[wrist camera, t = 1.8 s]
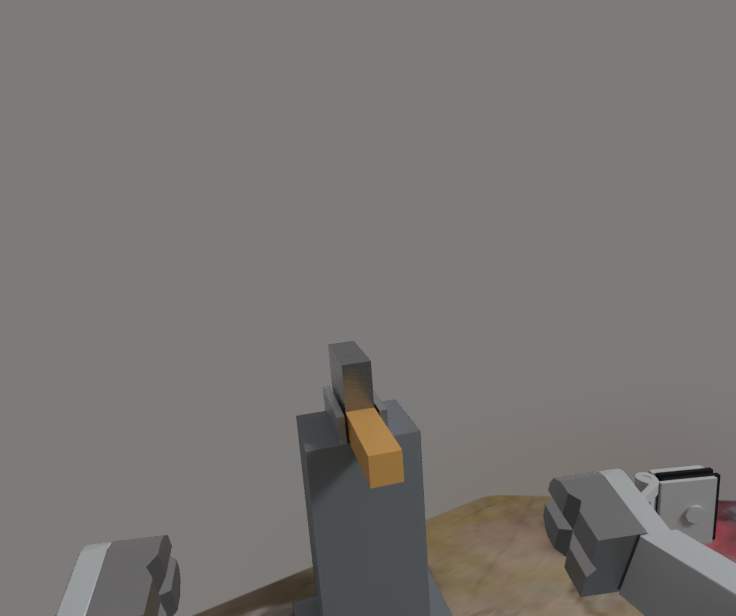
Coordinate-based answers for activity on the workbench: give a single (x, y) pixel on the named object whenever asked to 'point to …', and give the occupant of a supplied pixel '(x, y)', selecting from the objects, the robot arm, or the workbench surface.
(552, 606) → the workbench surface
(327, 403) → the stand
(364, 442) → the bar
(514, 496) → the workbench surface
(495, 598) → the workbench surface
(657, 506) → the hinge
